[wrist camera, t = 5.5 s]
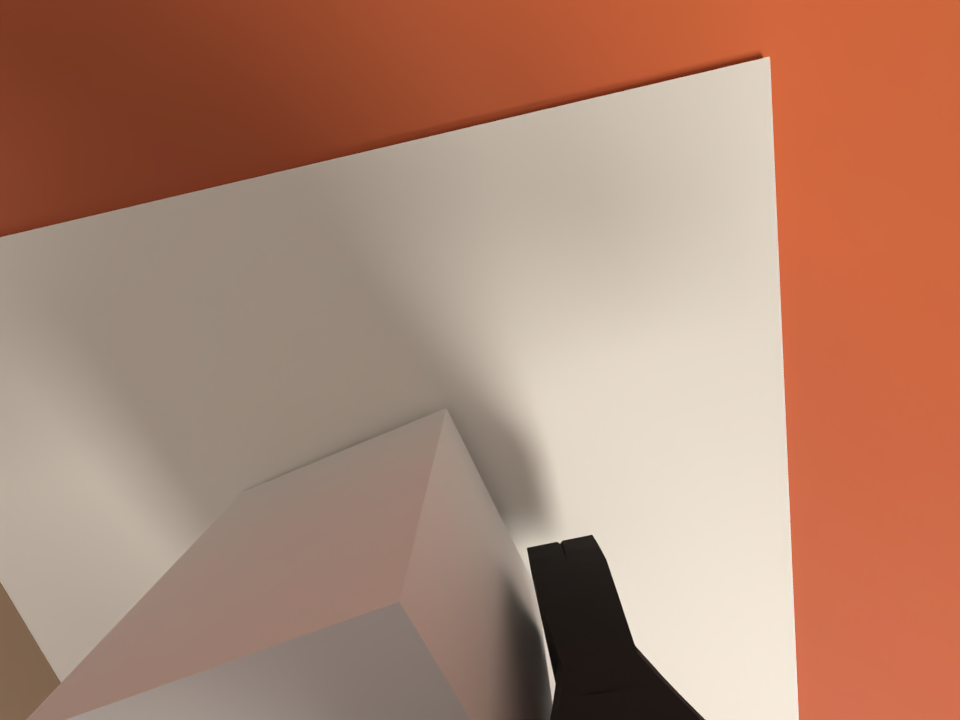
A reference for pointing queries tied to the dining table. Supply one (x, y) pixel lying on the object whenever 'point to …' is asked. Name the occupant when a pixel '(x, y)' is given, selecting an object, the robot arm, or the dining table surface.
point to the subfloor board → (427, 369)
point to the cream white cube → (334, 603)
